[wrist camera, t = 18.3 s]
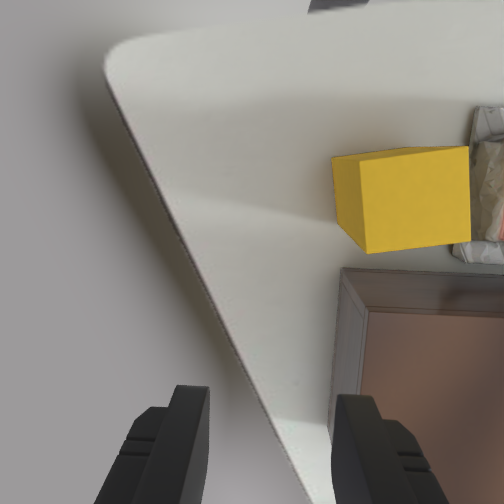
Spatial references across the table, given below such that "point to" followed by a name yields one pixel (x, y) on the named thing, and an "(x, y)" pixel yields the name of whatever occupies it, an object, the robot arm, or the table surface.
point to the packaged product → (485, 189)
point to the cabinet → (429, 368)
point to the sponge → (404, 197)
